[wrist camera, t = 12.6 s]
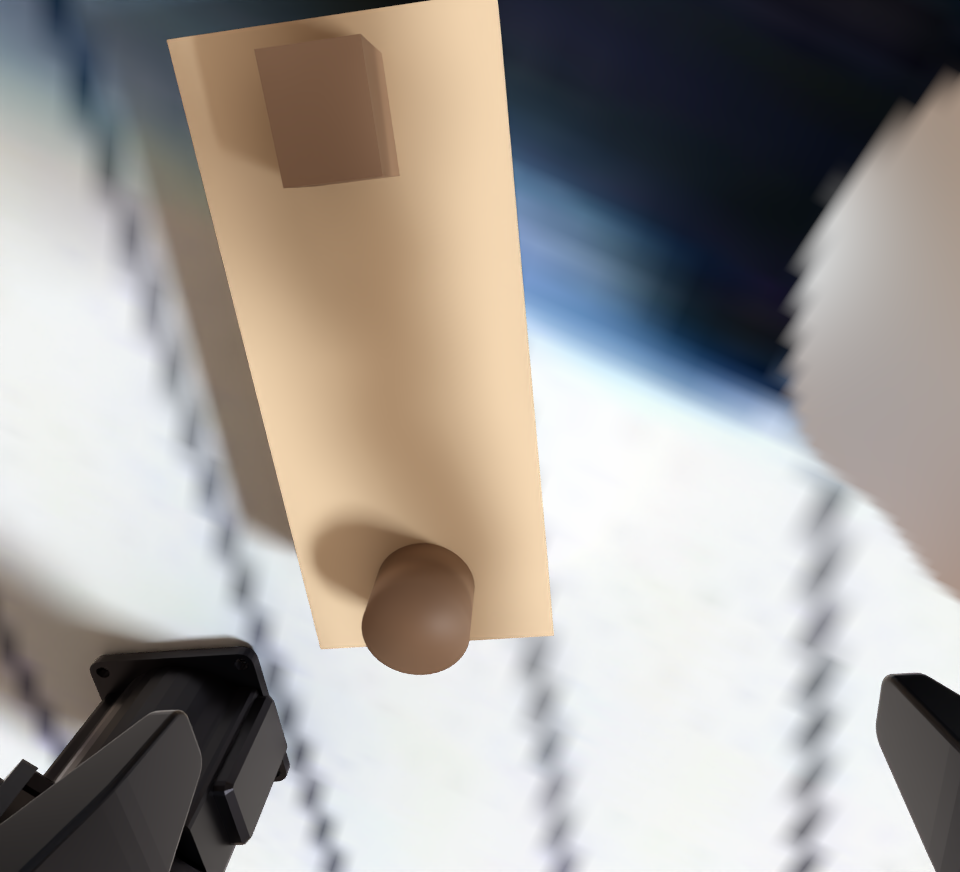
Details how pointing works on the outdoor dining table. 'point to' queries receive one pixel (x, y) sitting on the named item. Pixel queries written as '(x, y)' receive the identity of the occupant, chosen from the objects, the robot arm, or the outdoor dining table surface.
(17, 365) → the outdoor dining table surface
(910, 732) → the robot arm
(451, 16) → the plane body
